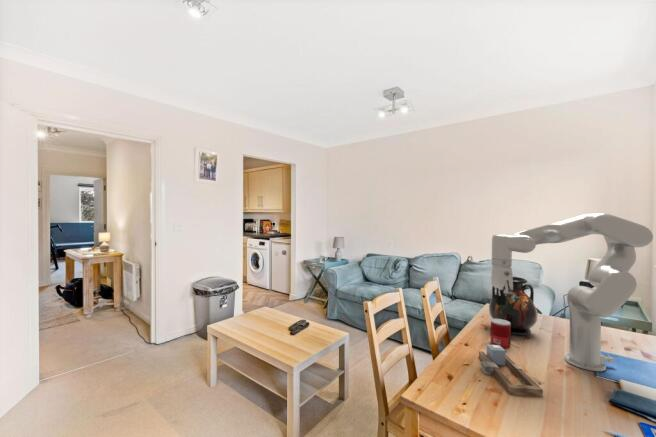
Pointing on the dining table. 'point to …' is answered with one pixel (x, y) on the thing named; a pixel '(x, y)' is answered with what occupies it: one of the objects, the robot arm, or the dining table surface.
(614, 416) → the dining table surface
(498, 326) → the canned food
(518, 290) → the amphora vase
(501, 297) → the robot arm
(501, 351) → the block
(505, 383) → the beam slot
